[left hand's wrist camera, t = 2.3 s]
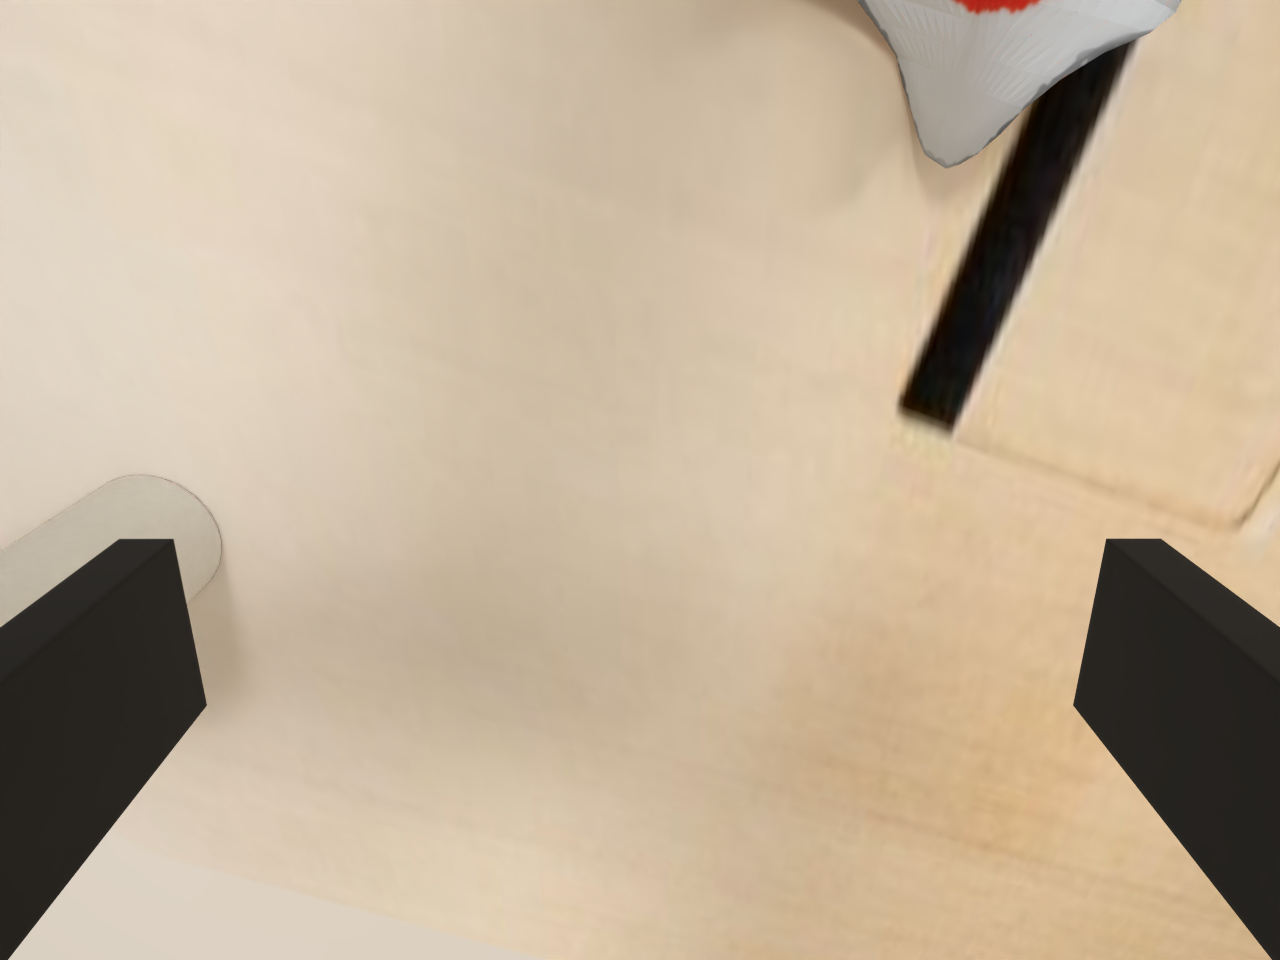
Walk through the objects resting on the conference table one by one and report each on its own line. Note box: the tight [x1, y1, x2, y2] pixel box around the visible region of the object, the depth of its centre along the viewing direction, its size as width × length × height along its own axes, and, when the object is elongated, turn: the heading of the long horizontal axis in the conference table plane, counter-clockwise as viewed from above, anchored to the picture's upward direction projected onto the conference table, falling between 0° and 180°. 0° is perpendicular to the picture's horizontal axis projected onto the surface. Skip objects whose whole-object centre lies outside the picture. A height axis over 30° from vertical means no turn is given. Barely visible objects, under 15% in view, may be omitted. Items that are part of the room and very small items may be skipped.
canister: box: [0, 475, 221, 627], centre depth 31 cm, size 6×6×11 cm
